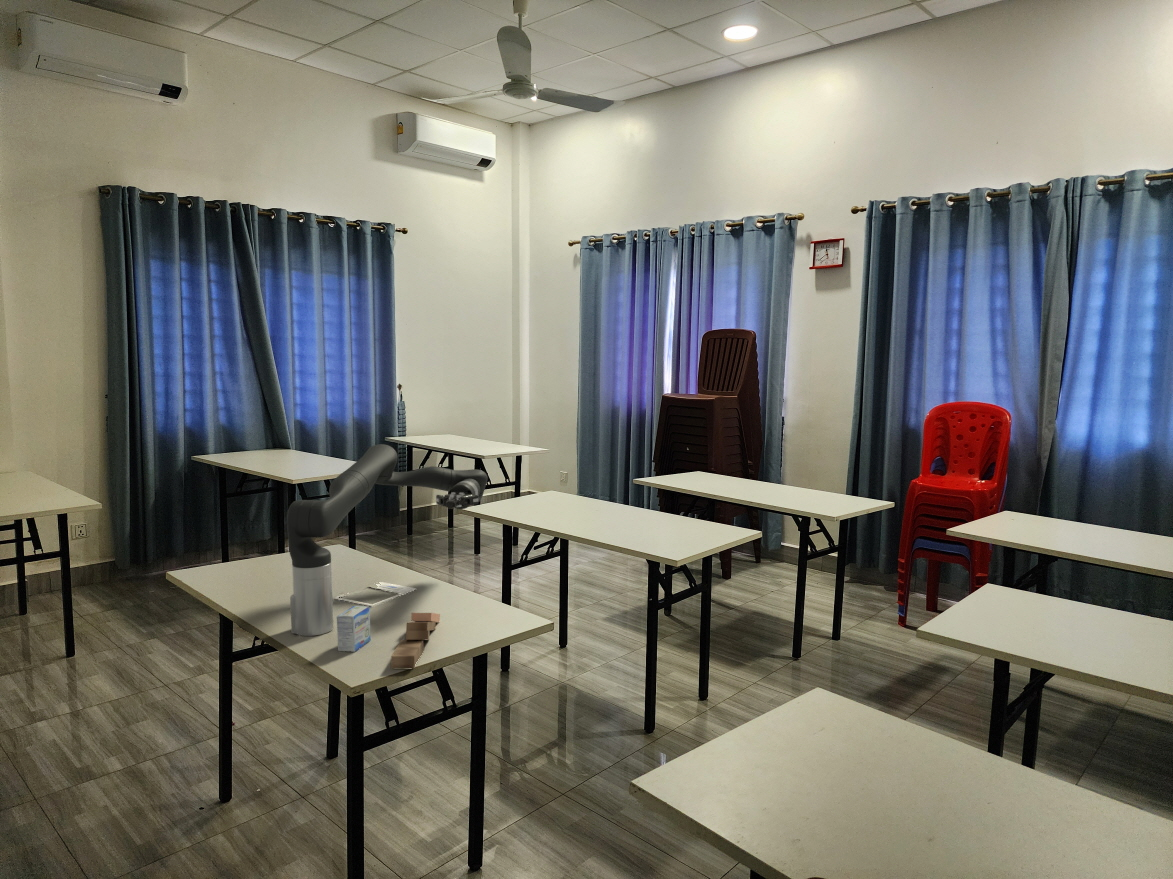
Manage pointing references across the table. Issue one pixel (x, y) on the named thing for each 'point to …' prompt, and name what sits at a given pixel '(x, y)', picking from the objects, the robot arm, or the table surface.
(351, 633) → the medicine box
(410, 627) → the tile
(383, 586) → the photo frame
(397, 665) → the tile
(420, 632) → the tile
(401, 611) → the table surface
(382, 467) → the robot arm
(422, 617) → the tile
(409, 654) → the tile
